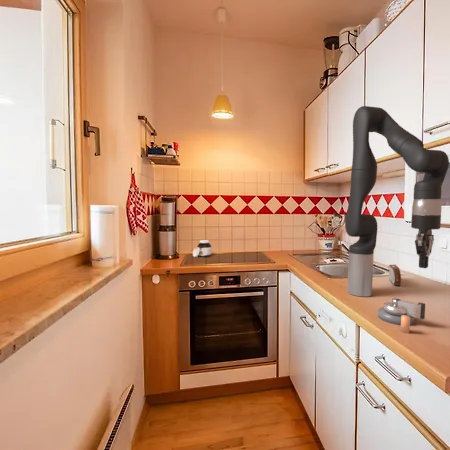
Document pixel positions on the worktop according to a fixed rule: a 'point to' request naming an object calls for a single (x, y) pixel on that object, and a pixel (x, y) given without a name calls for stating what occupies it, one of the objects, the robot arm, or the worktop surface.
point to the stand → (397, 320)
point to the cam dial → (405, 308)
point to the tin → (394, 275)
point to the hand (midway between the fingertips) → (423, 267)
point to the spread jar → (203, 249)
